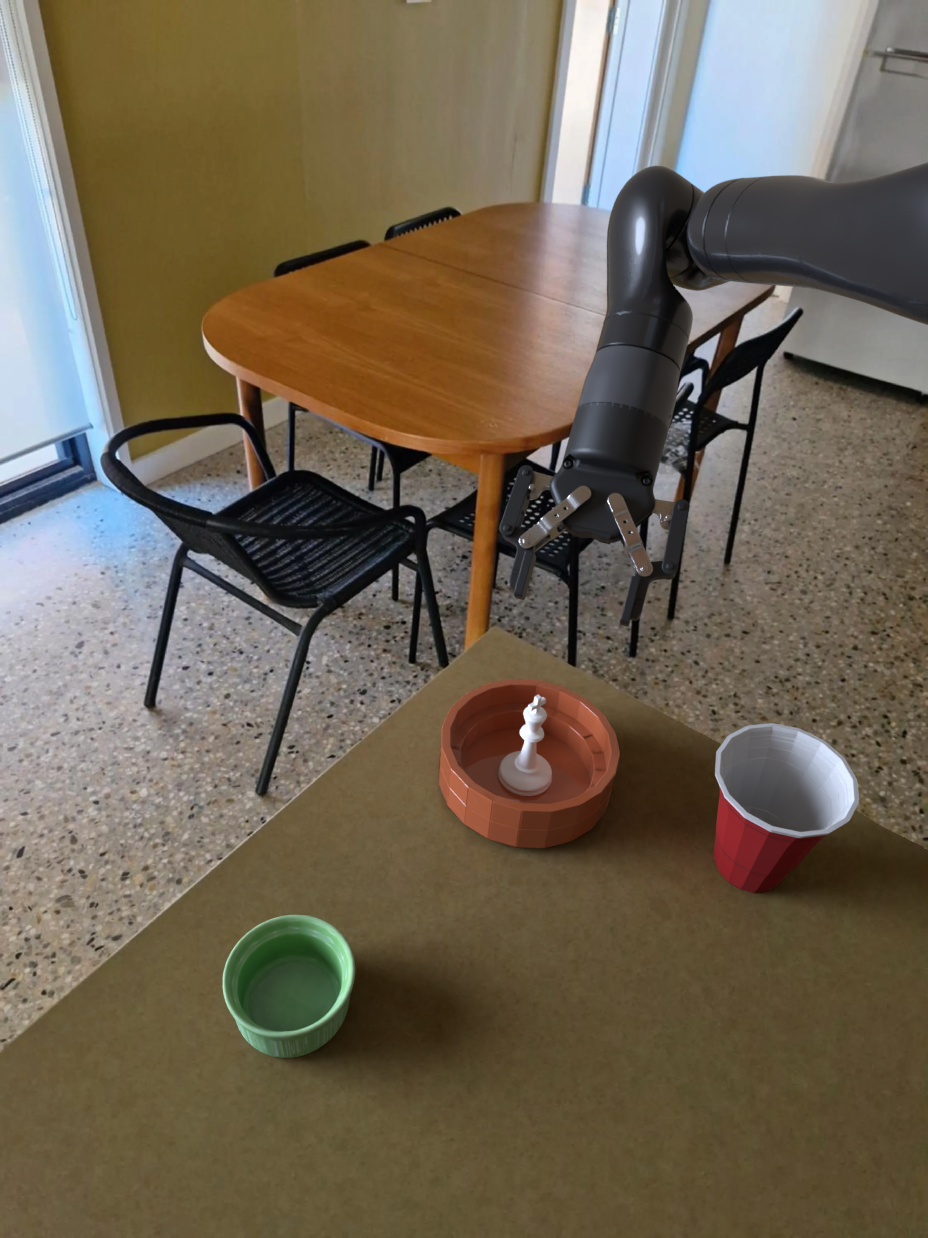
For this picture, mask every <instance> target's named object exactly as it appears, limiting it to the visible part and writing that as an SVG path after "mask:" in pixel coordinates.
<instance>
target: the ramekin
mask: <svg viewBox="0 0 928 1238" xmlns="http://www.w3.org/2000/svg"><path fill="white" fill-rule="evenodd" d="M355 979H356V962H355V956H354V952H353V950H352V948H351V945H350V944H349V941H348V939H347V938H346V937H345V936H344V934H343V933H342V932H341V931H340V930H339V929H338V928H337V927H335V926H334V925H332V924H331V923H329V922H328V921H326V920H323V919H322V918H319V917H316V916H312V915H308V914H287V915H280V916H277V917H272V918H271V919H268V920H266V921H263V922H261V923H260V924H258V925H256V926H255V927H253V928H252V929H250V930H249V931H248V932H246V933H245V935H243V936H241V938H240V939H239V940H238V942H237V943H236V944H235V945H234V947H233V949H232V950H231V951H230V953H229V955H228V957H227V959H226V962H225V965H224V968H223V974H222V993H223V998H224V1001H225V1004H226V1007H227V1009H228V1011H229V1013H230V1014H231V1016H232V1017H233V1018H234V1020H235V1023H236V1025H237V1028H238V1030H239V1032H240V1034H241V1035H242V1037H243V1038H244V1039H245V1041H246V1042H247V1043H248V1044H249V1045H250V1046H252V1047H253V1048H254V1049H256V1050H257V1051H259V1052H260V1053H263V1054H264V1055H267V1056H270V1057H275V1058H281V1059H289V1058H290V1059H292V1058H293V1059H294V1058H299V1057H302V1056H305V1055H308V1054H310V1053H312V1052H315V1051H317V1050H318V1049H320V1048H321V1047H323V1046H324V1045H326V1044H327V1043H328V1042H329V1041H330V1040H332V1038H333V1037H334V1036H335V1035H336V1034H337V1032H338V1031H339V1030H340V1028H341V1027H342V1025H343V1024H344V1021H345V1018H346V1016H347V1013H348V1010H349V1006H350V1005H349V1004H350V1001H351V994H352V991H353V988H354V985H355Z"/></svg>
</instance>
